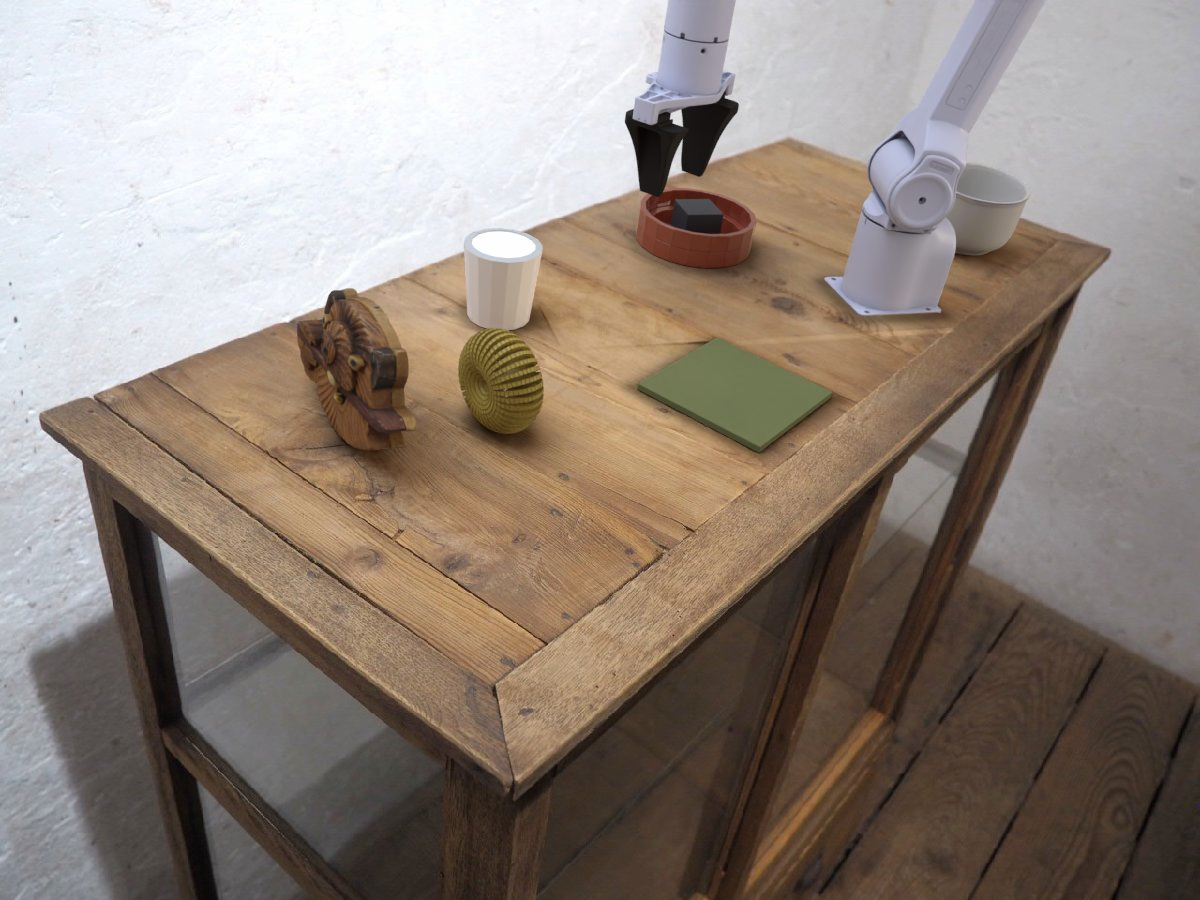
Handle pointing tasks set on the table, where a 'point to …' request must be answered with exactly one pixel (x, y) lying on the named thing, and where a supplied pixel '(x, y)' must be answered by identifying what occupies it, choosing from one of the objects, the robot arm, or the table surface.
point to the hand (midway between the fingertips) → (671, 182)
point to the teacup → (986, 208)
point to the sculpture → (500, 380)
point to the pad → (736, 393)
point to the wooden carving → (358, 371)
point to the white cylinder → (501, 277)
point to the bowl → (693, 245)
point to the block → (697, 216)
